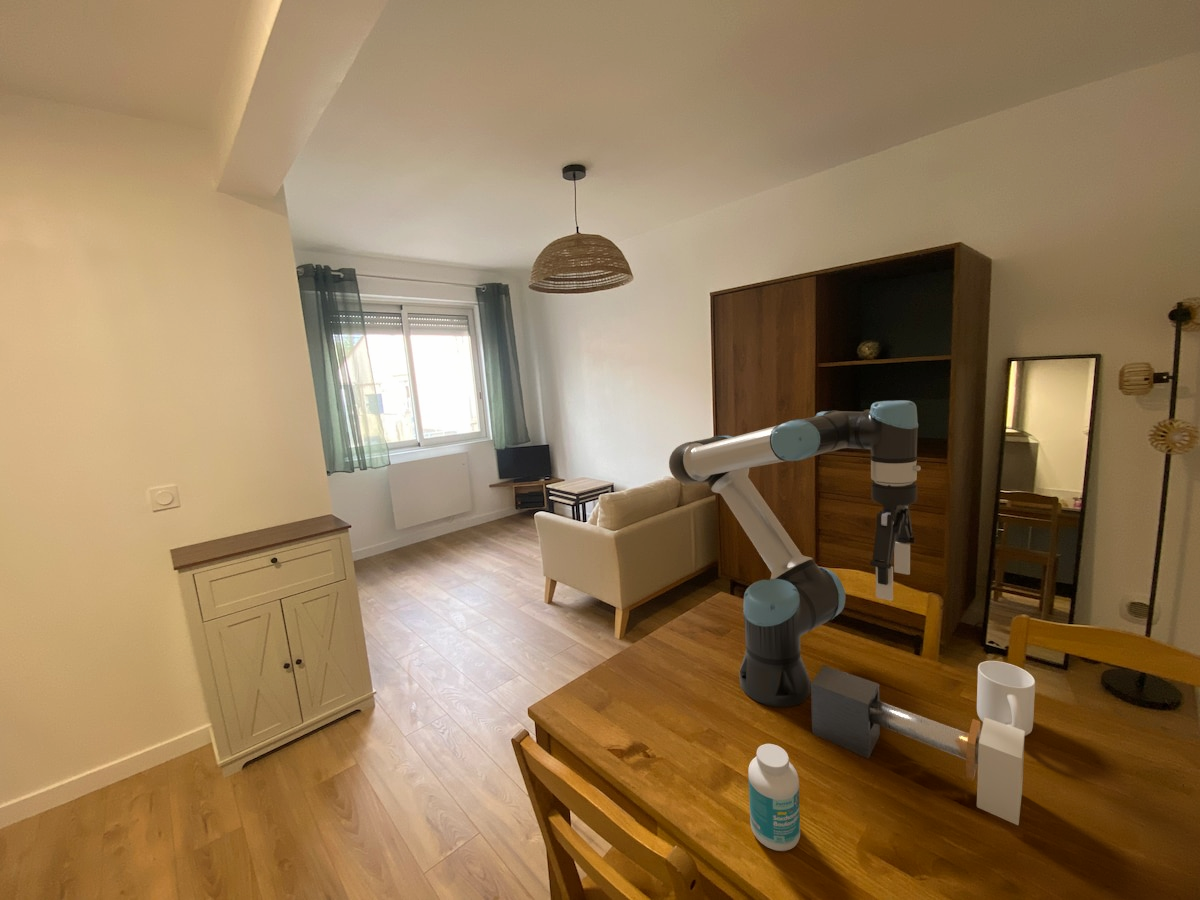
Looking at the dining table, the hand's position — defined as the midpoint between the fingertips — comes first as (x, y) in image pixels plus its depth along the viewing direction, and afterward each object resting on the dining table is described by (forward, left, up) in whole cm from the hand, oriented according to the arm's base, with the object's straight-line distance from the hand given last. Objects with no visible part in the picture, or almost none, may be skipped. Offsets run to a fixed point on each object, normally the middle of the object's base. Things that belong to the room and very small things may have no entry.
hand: (893, 585), depth 94 cm
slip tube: (+8, -14, -22) cm, 28 cm away
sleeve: (-5, -14, -27) cm, 31 cm away
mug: (+18, +5, -27) cm, 33 cm away
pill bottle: (-7, -41, -27) cm, 50 cm away
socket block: (+18, -14, -27) cm, 35 cm away
